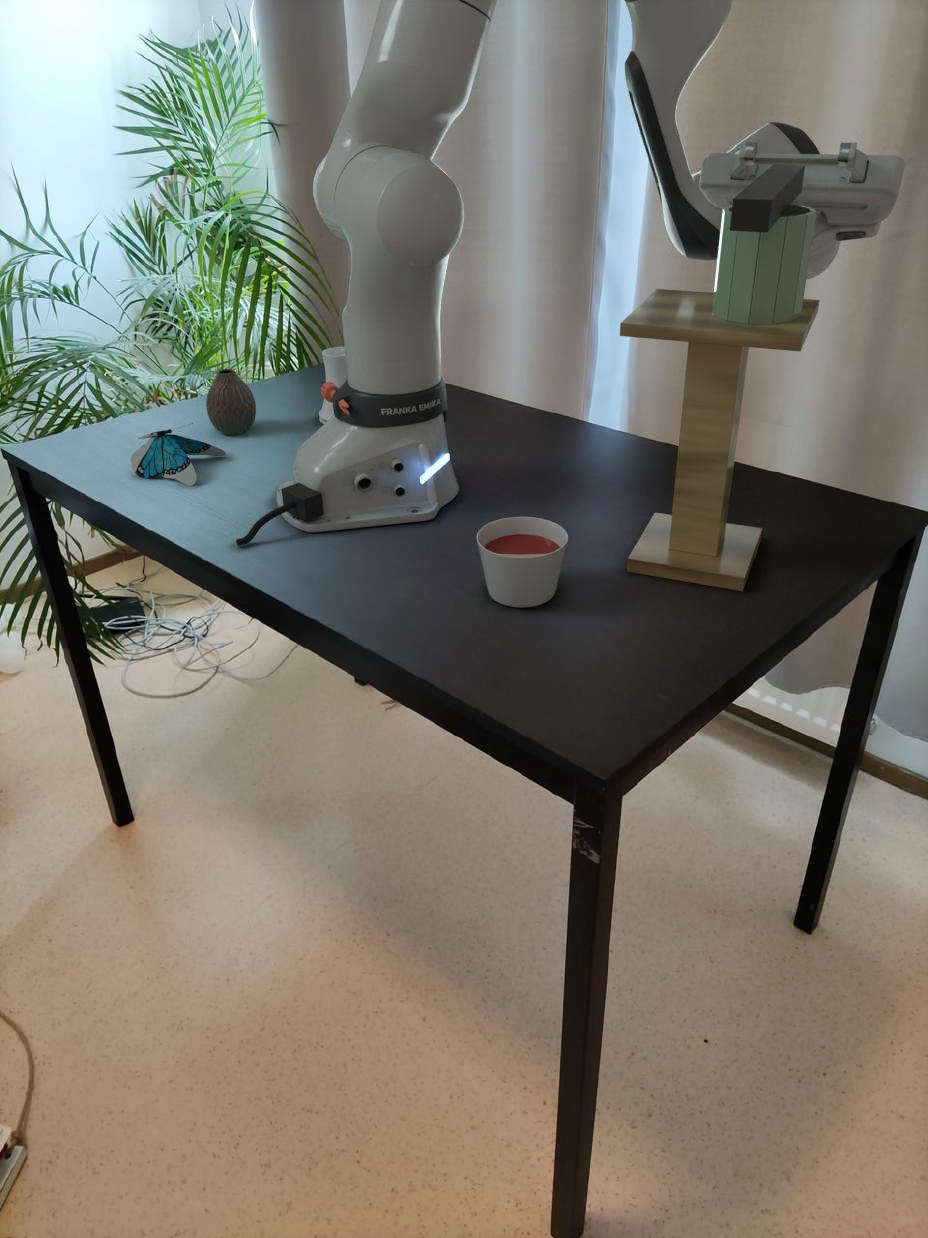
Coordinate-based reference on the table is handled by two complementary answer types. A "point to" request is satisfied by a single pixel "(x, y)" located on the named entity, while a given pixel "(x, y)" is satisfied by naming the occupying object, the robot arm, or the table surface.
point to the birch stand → (705, 437)
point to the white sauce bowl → (522, 559)
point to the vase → (230, 404)
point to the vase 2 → (333, 376)
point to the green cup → (764, 269)
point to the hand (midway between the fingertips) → (796, 149)
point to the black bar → (766, 198)
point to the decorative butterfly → (170, 456)
